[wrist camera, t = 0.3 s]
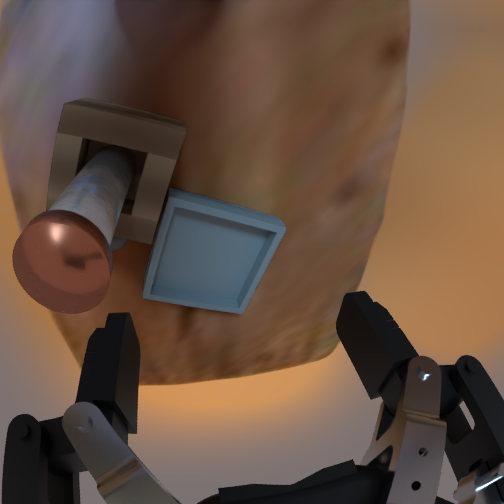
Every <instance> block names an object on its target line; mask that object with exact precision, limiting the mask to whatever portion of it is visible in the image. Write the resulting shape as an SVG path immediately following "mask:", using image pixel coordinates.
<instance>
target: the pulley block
mask: <svg viewBox="0 0 504 504" xmlns="http://www.w3.org/2000/svg"><path fill="white" fill-rule="evenodd" d="M186 133H187V132H186V127H185V123H184V121H181V120H177V119H174V118H170V117H166V116H163V115H159V114H155V113H151V112H148V111H144V110H140V109H136V108H131V107H127V106H123V105H119V104H114V103H109V102H105V101H100V100H95V99H90V98H82V99H79V100H75V101H71V102H68V103H65V104H64V105H63V109H62V113H61V117H60V122H59V126H58V131H57V136H56V141H55V146H54V152H53V158H52V164H51V171H50V178H49V186H48V195H47V206H46V211H48V210H49V209H50V208H51V206H52V205H53V204H54V202H55V201H56V200H57V199H58V197H59V196H60V195H61V194H62V192H63V191H64V190H65V189H66V187H67V186H68V185H69V184H70V183H71V181H72V180H73V179H74V178H75V177H76V176H77V174H78V173H79V172H80V171H81V170H82V169H83V168H84V166H85V165H86V164H87V163H88V162H89V161H90V160H91V159H92V158H93V157H94V156H95V154H96V153H97V152H98V151H99V150H100V149H102V148H103V147H105V146H107V145H112V144H113V145H118V146H122V147H125V148H127V149H128V150H129V151H130V152H131V153H132V155H133V157H134V159H135V164H136V168H135V173H134V175H133V178H132V181H131V184H130V186H129V189H128V192H127V195H126V197H125V200H124V203H123V206H122V209H121V212H120V215H119V218H118V221H117V225H116V228H115V231H114V234H113V238H112V241H111V245H110V248H111V251H115V250H118V249H120V248H122V247H123V246H124V245H125V244H126V242H127V239H128V240H132V241H137V242H141V243H146V244H151V245H152V241H153V237H154V233H155V230H156V226H157V222H158V219H159V215H160V212H161V209H162V205H163V202H164V199H165V195H166V192H167V189H168V186H169V182H170V179H171V176H172V173H173V170H174V167H175V164H176V161H177V158H178V155H179V152H180V150H181V147H182V144H183V141H184V138H185V136H186Z"/></svg>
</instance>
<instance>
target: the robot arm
mask: <svg viewBox="0 0 504 504" xmlns="http://www.w3.org/2000/svg"><path fill="white" fill-rule="evenodd" d="M336 330H337V334H338V336H339V338H340V340H341V342H342V344H343V346H344V348H345V350H346V352H347V354H348V355H349V357H350V359H351V361H352V363H353V365H354V367H355V369H356V371H357V373H358V375H359V377H360V379H361V381H362V383H363V385H364V387H365V389H366V391H367V393H368V395H369V397H370V399H374V398H377V397H380V396H381V397H382V399H383V402H382V403H381V406H380V410H379V415H378V419H377V422H376V426H375V430H374V434H373V437H372V441H371V444H370V446H369V448H368V450H367V451H366V453H365V455H364V457H363V459H362V462H361V464H360V465H355V463H354V461H353V459H352V460H349V461H346V462H343V463H340V464H337V465H334V466H330V467H327V468H323V469H321V470H319V471H318V472H316V473H314V474H312V475H310V476H308V477H306V478H305V479H303V480H301V481H299V482H297V483H295V484H292V485H267V484H265V485H264V484H249V485H242V486H234V487H226V488H218V490H219V493H218V494H215V495H213V496H210V497H208V498H206V499H204V500H202V501H200V502H199V503H197V504H454V503H452V502H449V501H447V500H444V499H442V498H440V497H438V496H436V495H437V490H438V485H439V480H440V475H441V469H442V463H443V456H444V450H445V452H446V455H447V457H448V459H449V462H450V464H451V466H452V469H453V471H454V474H455V476H456V478H457V481H458V486H457V489H456V490H455V491H454V493H453V497H454V499H455V500H458V504H504V400H503V398H502V397H501V395H500V393H499V392H498V390H497V388H496V387H495V385H494V383H493V382H492V380H491V378H490V377H489V375H488V374H487V373H486V371H485V369H484V368H483V366H482V365H481V363H480V362H479V361H478V360H477V359H476V358H474V357H472V356H469V355H464V356H461V357H460V358H459V359H458V360H457V362H456V363H455V365H438V364H437V363H436V362H435V361H434V360H433V359H431V358H429V357H426V356H419V355H418V353H417V352H416V350H415V349H414V347H413V346H412V345H411V343H410V342H409V340H408V339H407V337H406V336H405V334H404V333H403V331H402V330H401V329H400V328H399V326H398V324H397V323H396V322H395V321H394V320H393V317H392V316H391V315H390V314H389V312H388V310H387V309H386V308H384V307H383V306H382V305H380V304H379V303H378V302H373V301H372V299H371V298H370V296H369V295H368V294H367V292H365V291H359V292H352V293H346V294H345V296H344V298H343V302H342V305H341V308H340V312H339V315H338V318H337V321H336ZM139 368H140V345H139V340H138V337H137V334H136V331H135V328H134V325H133V321H132V318H131V315H130V313H129V312H125V313H109V314H108V316H107V320H106V325H105V328H96V330H95V331H94V332H93V334H92V335H91V336H90V338H89V340H88V344H87V349H86V353H85V357H84V363H83V366H82V371H81V376H80V381H79V386H78V392H77V397H76V401H75V404H73V405H71V406H70V407H69V408H68V409H67V410H66V411H65V413H64V415H63V416H61V417H58V418H54V419H49V420H44V421H40V422H38V421H37V420H36V419H35V418H34V417H33V416H31V415H28V414H21V415H18V416H16V417H15V418H14V419H13V420H12V421H11V423H10V424H9V427H8V432H7V438H6V445H5V454H4V464H3V478H2V504H80V489H79V488H80V487H79V472H83V471H89V472H90V474H91V475H92V477H93V478H94V480H95V481H96V483H97V489H98V491H99V493H100V495H101V496H102V498H103V499H104V500H105V501H106V503H107V504H182V503H181V502H180V501H179V500H178V499H176V498H175V497H174V496H173V495H172V494H171V493H170V492H169V491H168V490H167V489H166V488H165V487H164V486H163V485H162V484H161V483H160V482H159V481H158V480H157V478H156V477H155V476H154V475H153V474H152V473H151V472H150V471H149V470H148V468H147V467H146V466H145V465H144V464H143V463H142V462H141V460H140V459H139V458H138V457H137V456H136V454H135V453H134V452H133V451H132V450H131V448H130V447H129V446H128V433H130V434H137V409H138V385H139ZM462 401H464V402H465V404H466V406H467V408H468V410H469V411H470V413H471V415H472V417H473V419H474V422H475V426H474V429H473V430H472V429H471V427H470V425H469V423H468V421H467V419H466V417H465V415H464V414H463V411H462V410H461V408H460V406H459V405H460V404H461V402H462Z"/></svg>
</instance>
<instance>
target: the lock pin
mask: <svg viewBox="0 0 504 504" xmlns="http://www.w3.org/2000/svg"><path fill="white" fill-rule="evenodd" d="M135 168H136V164H135V159H134V157H133V155H132V153H131V152H130V151H129V150H128V149H127V148H125V147H122V146H118V145H113V144H112V145H107V146H105V147H103V148H102V149H100V150H99V151H98V152H97V153H96V154H95V156H94V157H93V158H92V159H91V160H90V161H89V162H88V163H87V164H86V165H85V166H84V168H83V169H82V170H81V171H80V172H79V173H78V174H77V176H76V177H75V178H74V179H73V180H72V181H71V183H70V184H69V185H68V186H67V187H66V189H65V190H64V191H63V192H62V194H61V195H60V196H59V197H58V199H57V200H56V201H55V202H54V204H53V205H52V206H51V208H50V209H49V210H48V211H46V212H43V213H41V214H39V215H37V216H36V217H34V218H33V219H32V220H31V221H30V223H29V224H28V225H27V227H26V228H25V229H24V231H23V232H22V233H21V235H20V236H19V238H18V239H17V241H16V243H15V246H14V249H13V267H14V271H15V274H16V277H17V279H18V281H19V283H20V284H21V286H22V287H23V289H24V290H25V291H26V292H27V293H28V295H30V297H32V298H33V299H34V300H35V301H37V302H38V303H39V304H41V305H43V306H45V307H46V308H48V309H51V310H53V311H57V312H61V313H69V314H75V313H82V312H86V311H88V310H91V309H92V308H94V307H96V306H97V305H98V304H99V303H100V302H101V301H102V300H103V299H104V297H105V295H106V293H107V290H108V286H109V282H110V277H111V272H112V267H113V256H112V251H111V248H110V245H111V241H112V238H113V234H114V231H115V228H116V225H117V221H118V218H119V215H120V212H121V209H122V206H123V203H124V200H125V197H126V195H127V192H128V189H129V186H130V184H131V181H132V178H133V175H134V173H135Z"/></svg>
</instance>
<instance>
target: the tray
mask: <svg viewBox="0 0 504 504" xmlns="http://www.w3.org/2000/svg"><path fill="white" fill-rule="evenodd" d="M285 230H286V227H285V225H284V224H283V222H282V221H281V219H280V218H279V217H276V216H272V215H269V214H265V213H262V212H259V211H255V210H252V209H248V208H245V207H241V206H238V205H234V204H231V203H227V202H223V201H220V200H216V199H212V198H209V197H205V196H201V195H198V194H194V193H190V192H186V191H183V190H179V189H175V188H171V187H169V190H168V193H167V196H166V199H165V203H164V206H163V209H162V213H161V216H160V220H159V223H158V227H157V230H156V234H155V238H154V241H153V245H152V249H151V253H150V257H149V261H148V265H147V269H146V273H145V277H144V282H143V290H142V298H144V299H149V300H155V301H160V302H166V303H172V304H178V305H184V306H190V307H196V308H203V309H210V310H216V311H223V312H231V313H238V314H243V313H244V311H245V309H246V307H247V305H248V303H249V301H250V299H251V297H252V295H253V293H254V291H255V289H256V287H257V286H258V284H259V282H260V280H261V278H262V276H263V274H264V272H265V270H266V268H267V266H268V264H269V262H270V260H271V258H272V256H273V254H274V252H275V250H276V248H277V246H278V244H279V242H280V240H281V238H282V236H283V234H284V232H285Z"/></svg>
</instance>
